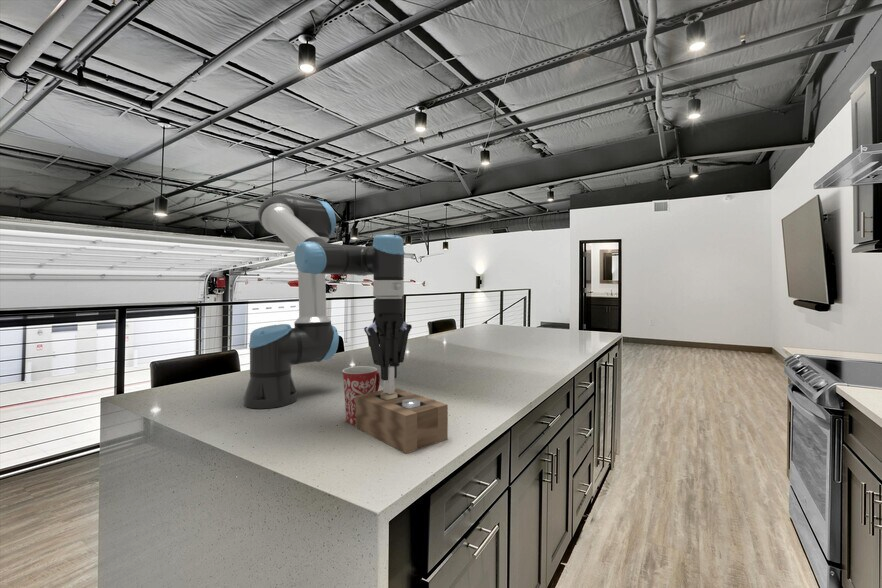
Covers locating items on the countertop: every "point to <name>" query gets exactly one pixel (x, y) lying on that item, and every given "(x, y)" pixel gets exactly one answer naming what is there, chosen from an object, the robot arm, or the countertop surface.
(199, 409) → the countertop surface
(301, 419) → the countertop surface
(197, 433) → the countertop surface
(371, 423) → the socket block
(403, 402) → the steel peg
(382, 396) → the beech peg
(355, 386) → the mug
